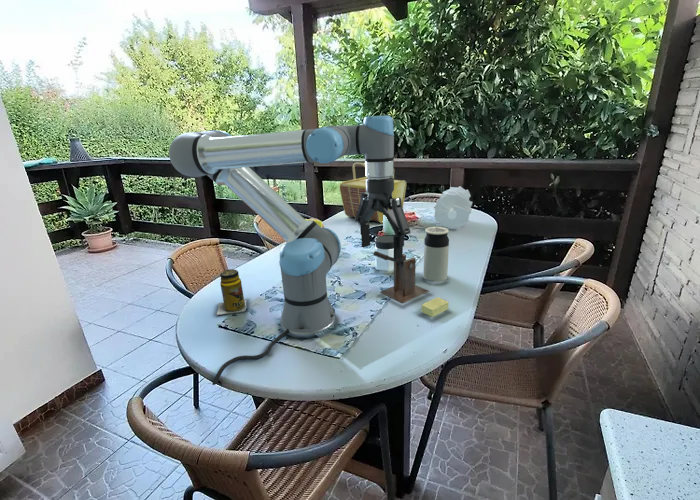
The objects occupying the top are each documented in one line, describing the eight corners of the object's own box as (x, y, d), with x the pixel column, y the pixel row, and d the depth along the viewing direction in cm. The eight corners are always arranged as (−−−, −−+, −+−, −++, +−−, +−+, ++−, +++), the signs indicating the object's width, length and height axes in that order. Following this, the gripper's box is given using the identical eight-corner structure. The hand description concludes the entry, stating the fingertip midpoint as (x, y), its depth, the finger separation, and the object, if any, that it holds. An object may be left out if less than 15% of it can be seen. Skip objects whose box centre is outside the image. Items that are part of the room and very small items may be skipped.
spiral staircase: (441, 238, 180) (446, 221, 202) (476, 225, 172) (477, 209, 194) (426, 205, 176) (432, 192, 198) (461, 190, 168) (464, 178, 190)
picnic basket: (408, 216, 206) (408, 161, 196) (379, 226, 189) (378, 167, 179) (368, 209, 225) (367, 159, 215) (339, 218, 208) (336, 164, 198)
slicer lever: (383, 261, 103) (386, 253, 103) (372, 256, 107) (374, 248, 107) (412, 270, 111) (414, 262, 111) (400, 265, 115) (402, 258, 115)
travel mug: (445, 286, 121) (448, 234, 115) (421, 283, 124) (422, 232, 118) (448, 276, 128) (450, 227, 122) (425, 274, 131) (426, 225, 125)
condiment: (245, 311, 111) (239, 275, 107) (216, 315, 109) (209, 279, 105) (246, 300, 118) (241, 266, 114) (219, 304, 116) (212, 269, 112)
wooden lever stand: (402, 307, 109) (402, 267, 105) (379, 295, 117) (379, 258, 112) (429, 294, 116) (430, 257, 111) (406, 284, 123) (406, 249, 119)
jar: (383, 276, 131) (383, 244, 126) (370, 269, 137) (369, 239, 133) (403, 270, 135) (403, 239, 131) (389, 263, 142) (388, 234, 137)
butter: (432, 321, 101) (432, 310, 100) (421, 315, 104) (421, 304, 103) (448, 312, 105) (448, 301, 104) (437, 307, 108) (437, 296, 107)
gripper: (425, 179, 90) (423, 259, 97) (361, 171, 109) (363, 239, 116) (403, 184, 86) (403, 267, 93) (340, 174, 105) (344, 244, 112)
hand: (381, 251), depth 105 cm, fingers open, 13 cm apart
